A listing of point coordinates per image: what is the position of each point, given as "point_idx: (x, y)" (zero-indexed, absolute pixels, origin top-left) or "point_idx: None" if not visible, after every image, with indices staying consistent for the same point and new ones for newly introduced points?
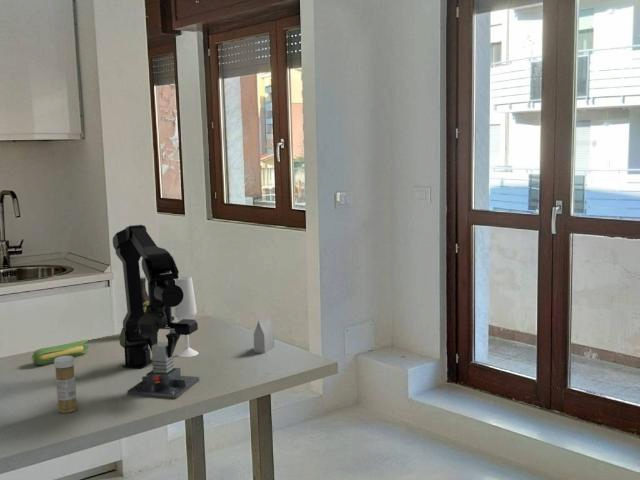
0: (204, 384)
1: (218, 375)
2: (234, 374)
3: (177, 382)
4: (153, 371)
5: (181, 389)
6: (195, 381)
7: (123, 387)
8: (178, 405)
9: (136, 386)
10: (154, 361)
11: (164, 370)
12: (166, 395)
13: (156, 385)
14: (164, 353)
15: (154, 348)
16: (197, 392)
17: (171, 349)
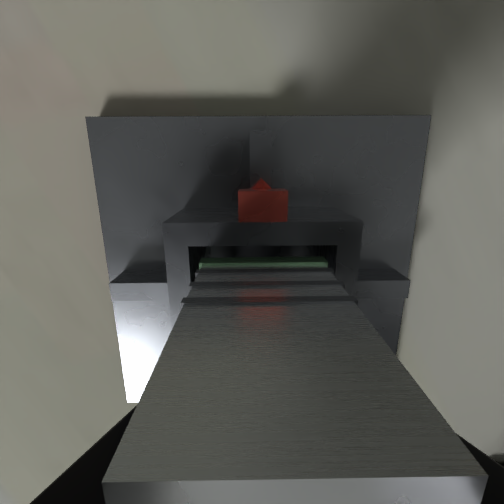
0: (79, 349)
1: None
2: (24, 480)
3: (165, 277)
4: (320, 262)
5: (109, 213)
6: (124, 357)
7: (483, 223)
8: (16, 7)
9: (402, 200)
10: (328, 299)
11: (220, 270)
12: (156, 117)
13: (250, 170)
14: (177, 366)
15: (386, 426)
16: (43, 240)
17: (66, 473)
